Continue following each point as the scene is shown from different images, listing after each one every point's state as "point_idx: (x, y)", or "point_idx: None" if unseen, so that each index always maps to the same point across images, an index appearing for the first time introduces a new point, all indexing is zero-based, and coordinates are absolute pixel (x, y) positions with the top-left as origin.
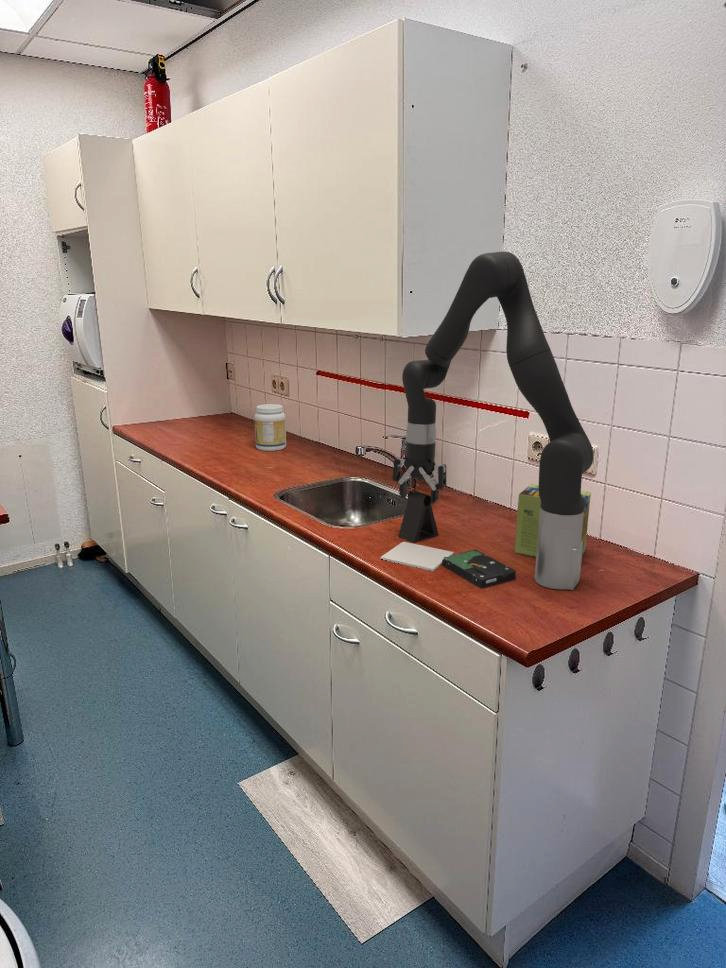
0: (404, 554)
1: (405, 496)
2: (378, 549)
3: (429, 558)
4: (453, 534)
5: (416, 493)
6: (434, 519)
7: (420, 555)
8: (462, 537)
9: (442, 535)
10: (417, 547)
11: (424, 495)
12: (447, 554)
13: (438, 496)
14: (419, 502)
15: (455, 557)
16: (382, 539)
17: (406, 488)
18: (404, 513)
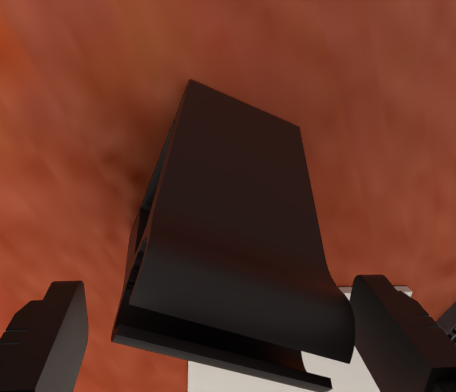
0: (250, 386)
1: (82, 305)
2: (133, 372)
3: (341, 372)
4: (364, 72)
5: (213, 364)
6: (310, 189)
7: (305, 367)
8: (414, 92)
9: (315, 114)
10: None
11: (310, 384)
12: None
13: (430, 319)
14: (256, 347)
15: None
16: (86, 289)
17: (57, 349)
18: (126, 264)
